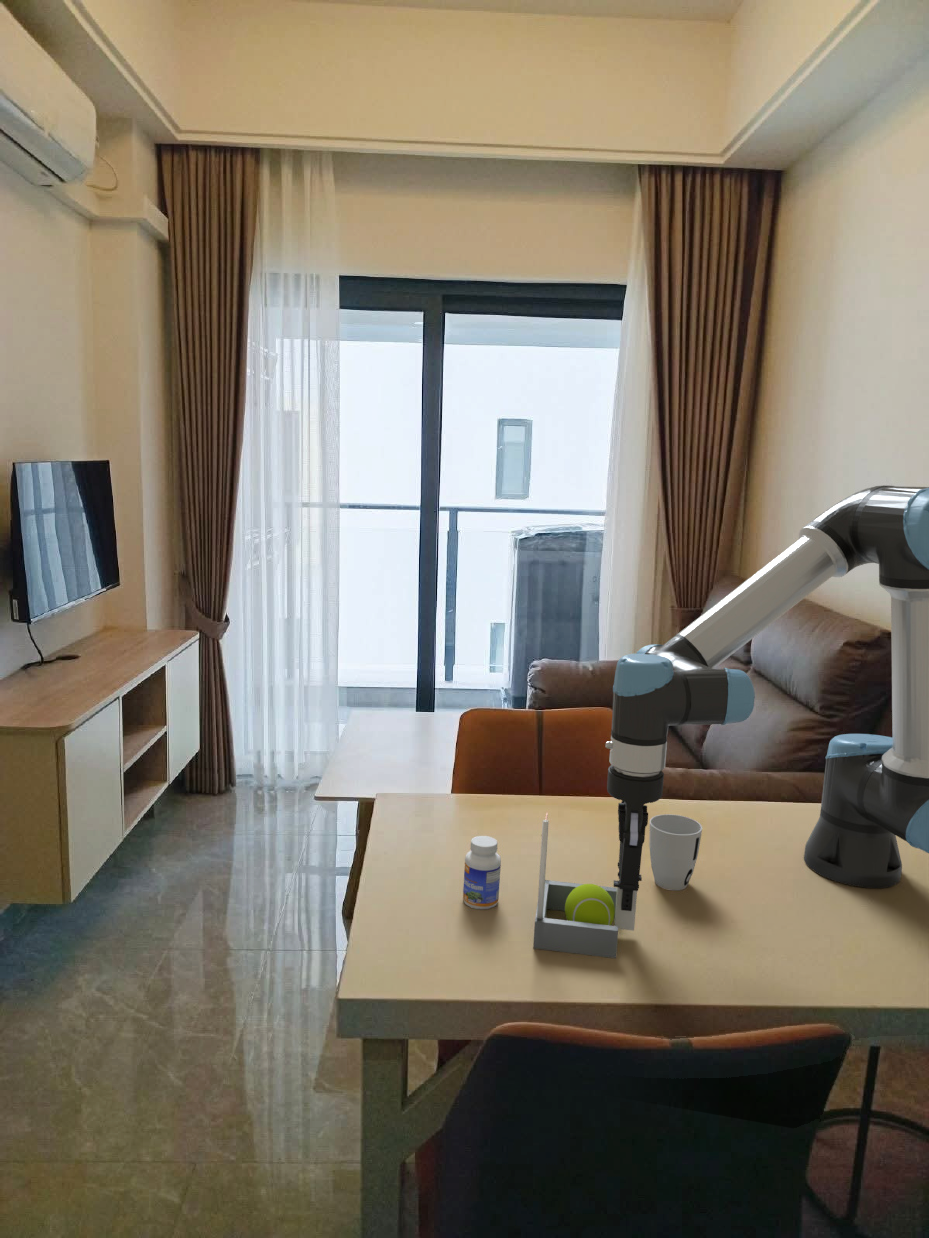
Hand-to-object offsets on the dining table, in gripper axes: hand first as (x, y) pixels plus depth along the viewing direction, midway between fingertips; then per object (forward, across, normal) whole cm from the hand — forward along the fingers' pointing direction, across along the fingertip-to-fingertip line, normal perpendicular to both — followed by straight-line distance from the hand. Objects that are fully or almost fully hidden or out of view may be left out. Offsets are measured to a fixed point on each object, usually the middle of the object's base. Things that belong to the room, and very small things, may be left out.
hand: (624, 926), depth 123 cm
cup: (+2, -18, +8) cm, 20 cm away
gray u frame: (+1, 0, -6) cm, 6 cm away
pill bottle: (+2, -5, -21) cm, 22 cm away
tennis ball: (+2, 0, -5) cm, 5 cm away
